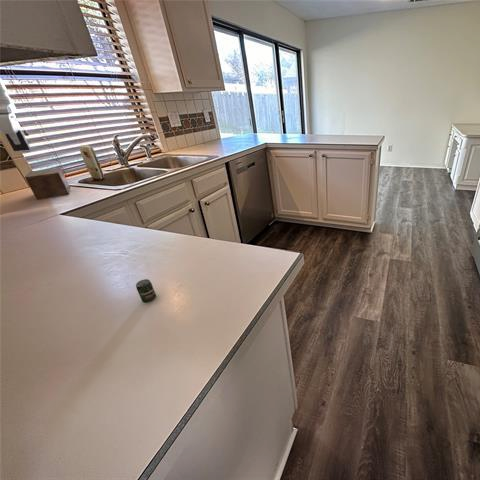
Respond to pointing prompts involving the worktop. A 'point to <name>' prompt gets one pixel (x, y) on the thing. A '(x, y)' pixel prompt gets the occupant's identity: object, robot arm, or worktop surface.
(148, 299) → the beer can
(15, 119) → the robot arm
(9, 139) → the holder
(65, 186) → the brown wooden stand
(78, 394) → the worktop surface
